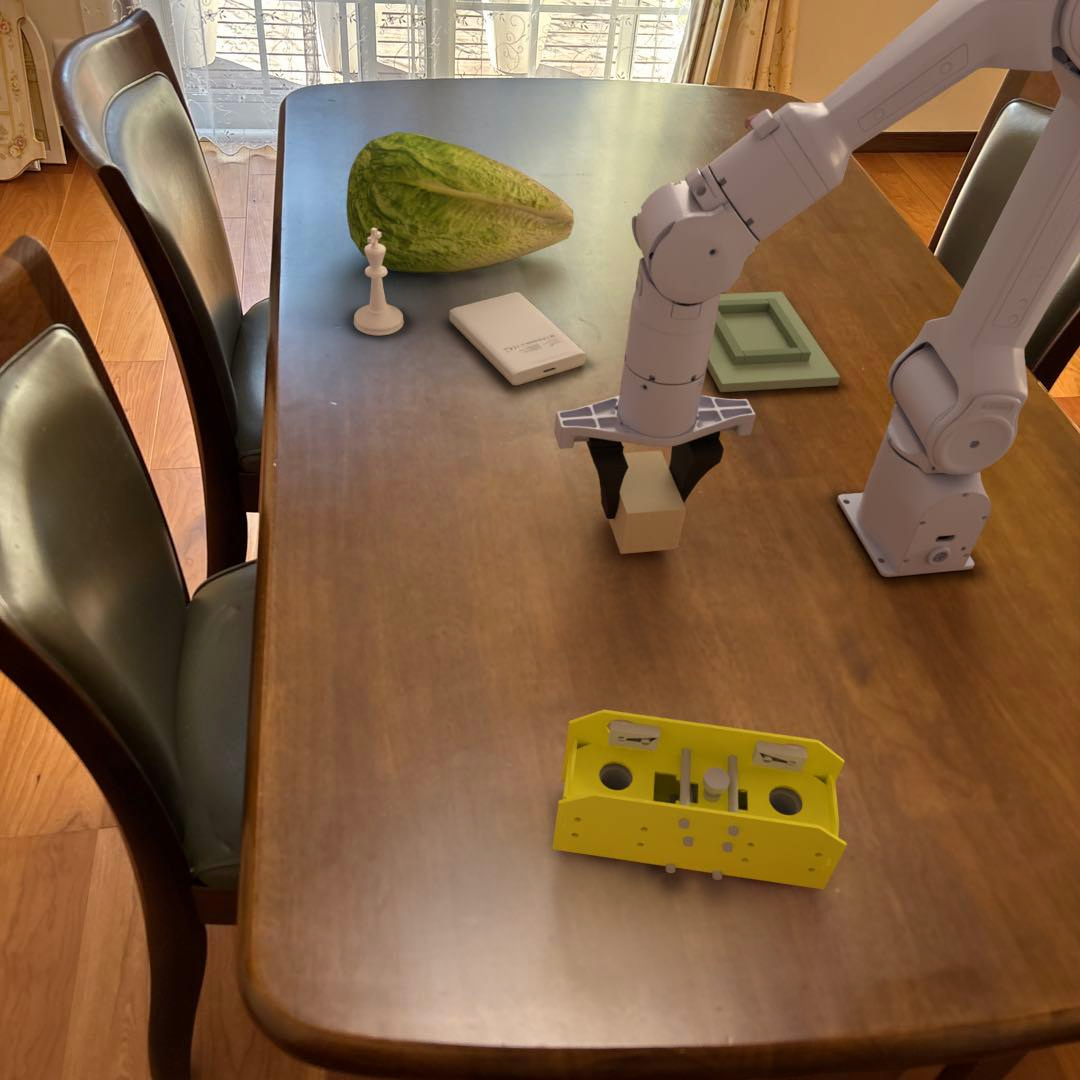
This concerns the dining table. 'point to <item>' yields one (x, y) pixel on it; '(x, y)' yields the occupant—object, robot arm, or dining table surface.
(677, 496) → the tan rectangular block
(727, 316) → the base mat
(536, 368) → the hard drive
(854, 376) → the dining table surface
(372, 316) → the chess piece
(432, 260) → the lettuce
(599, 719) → the yellow toy chassis
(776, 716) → the dining table surface
